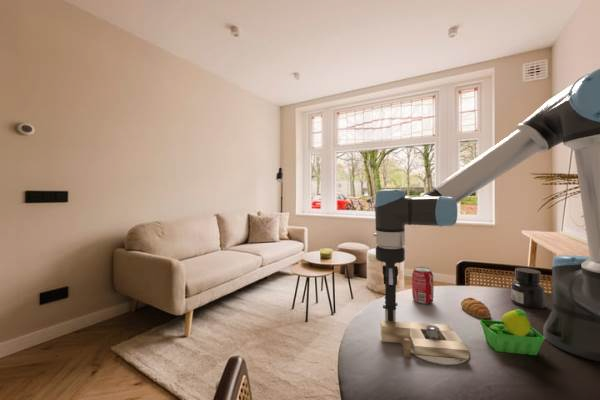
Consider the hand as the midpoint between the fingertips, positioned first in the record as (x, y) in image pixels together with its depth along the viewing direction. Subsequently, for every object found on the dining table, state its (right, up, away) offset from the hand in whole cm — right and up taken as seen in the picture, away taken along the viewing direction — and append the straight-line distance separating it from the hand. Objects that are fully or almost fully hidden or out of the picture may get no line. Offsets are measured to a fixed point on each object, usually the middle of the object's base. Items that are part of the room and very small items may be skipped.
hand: (390, 330), depth 72 cm
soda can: (+20, -1, +24) cm, 31 cm away
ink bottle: (+55, -1, +20) cm, 59 cm away
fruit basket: (+29, -2, -6) cm, 30 cm away
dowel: (+1, -2, -8) cm, 9 cm away
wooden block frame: (+6, -1, -3) cm, 7 cm away
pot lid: (+10, -2, -4) cm, 11 cm away
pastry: (+34, -2, +15) cm, 37 cm away
